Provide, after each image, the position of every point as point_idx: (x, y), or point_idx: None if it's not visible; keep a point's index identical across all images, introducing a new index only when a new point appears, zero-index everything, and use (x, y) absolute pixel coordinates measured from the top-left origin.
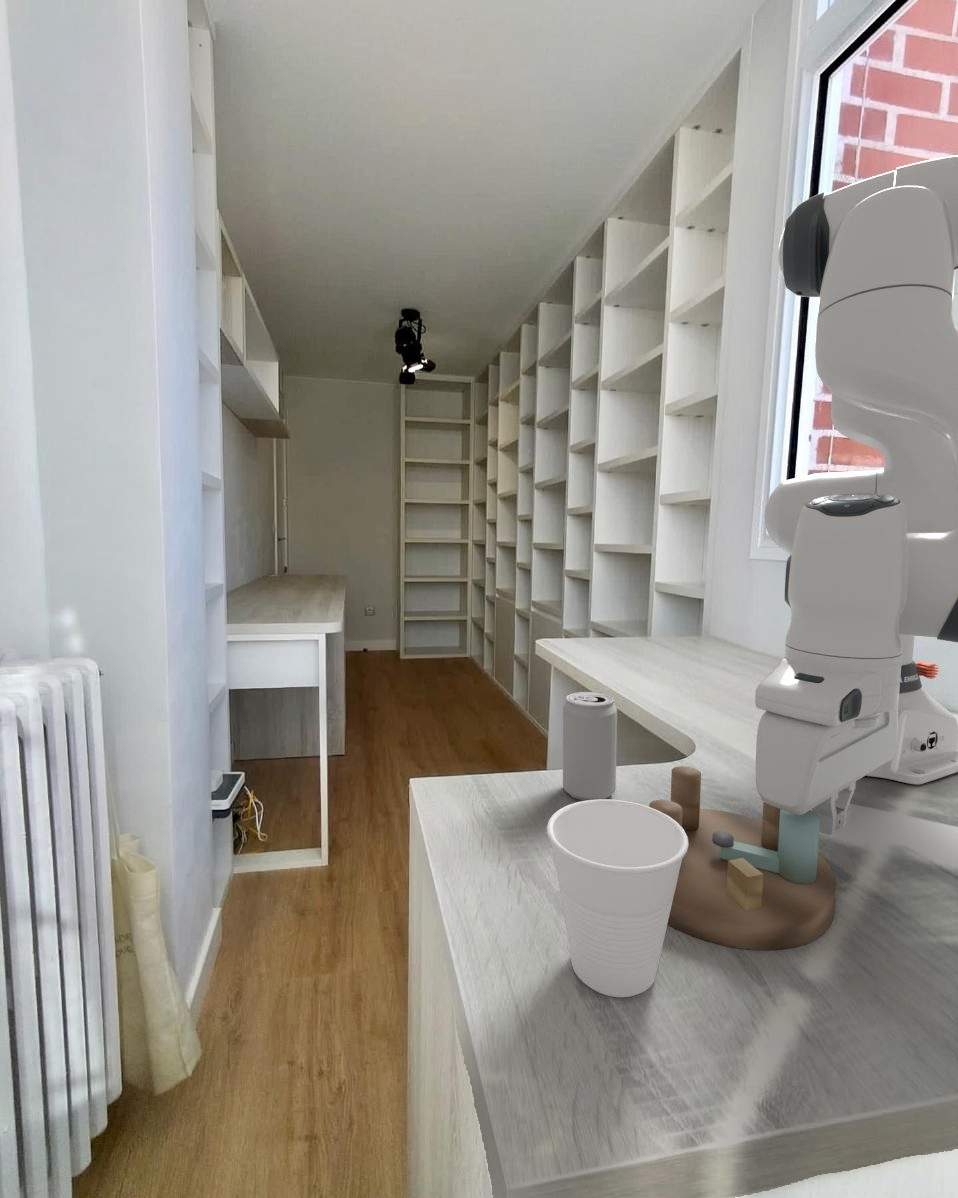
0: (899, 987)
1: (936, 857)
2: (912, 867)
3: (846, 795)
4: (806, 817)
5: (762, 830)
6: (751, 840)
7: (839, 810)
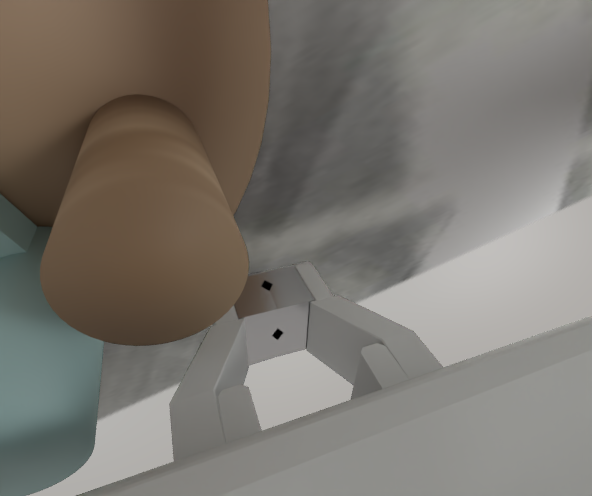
0: None
1: (442, 252)
2: (389, 252)
3: (347, 374)
4: (3, 477)
5: (92, 128)
6: (81, 66)
7: (292, 347)
